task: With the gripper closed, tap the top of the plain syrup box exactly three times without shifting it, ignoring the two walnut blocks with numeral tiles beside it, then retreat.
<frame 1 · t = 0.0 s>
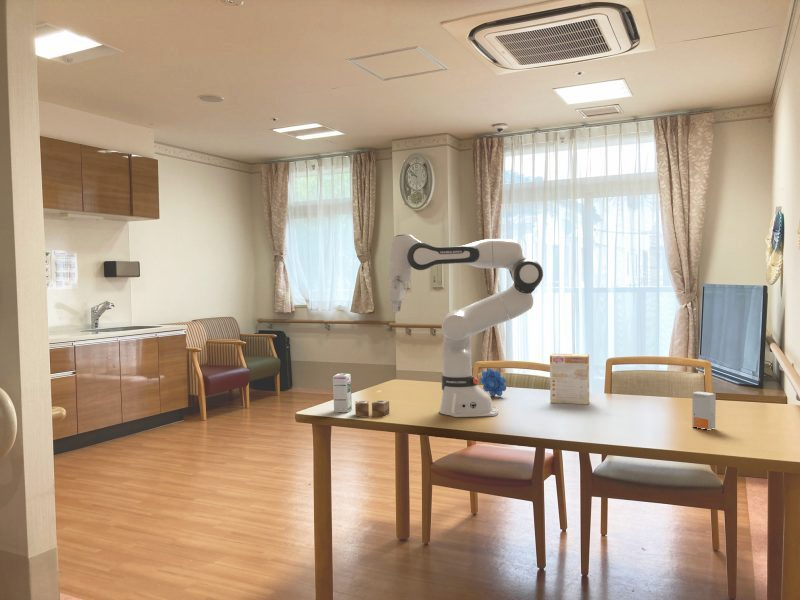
hand: (396, 311, 251), 39 cm above the table, tool pointing down, fingers open, 8 cm apart
syrup box: (342, 411, 255), on the table
walnut block two: (380, 415, 247), on the table
coffeecake box: (569, 402, 265), on the table
blue gear wheel: (492, 397, 280), on the table
walnut block one: (362, 415, 247), on the table
skincare box: (703, 429, 218), on the table
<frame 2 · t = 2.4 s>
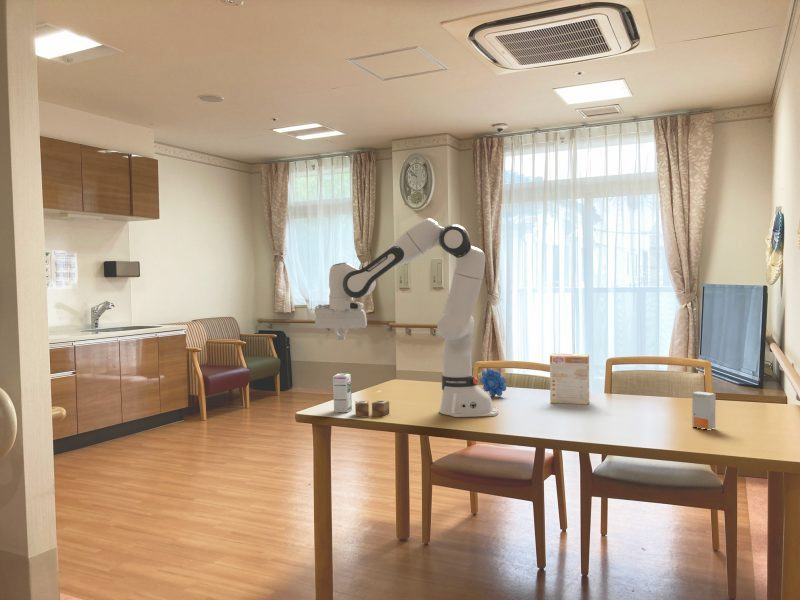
hand: (341, 339, 254), 28 cm above the table, tool pointing down, fingers closed
nothing on the table moved.
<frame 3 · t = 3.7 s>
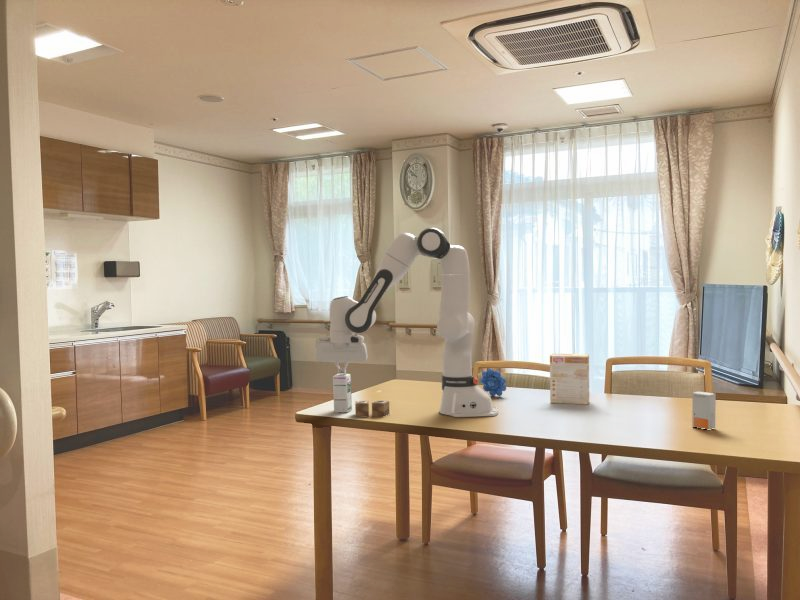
hand: (341, 373, 254), 15 cm above the table, tool pointing down, fingers closed
nothing on the table moved.
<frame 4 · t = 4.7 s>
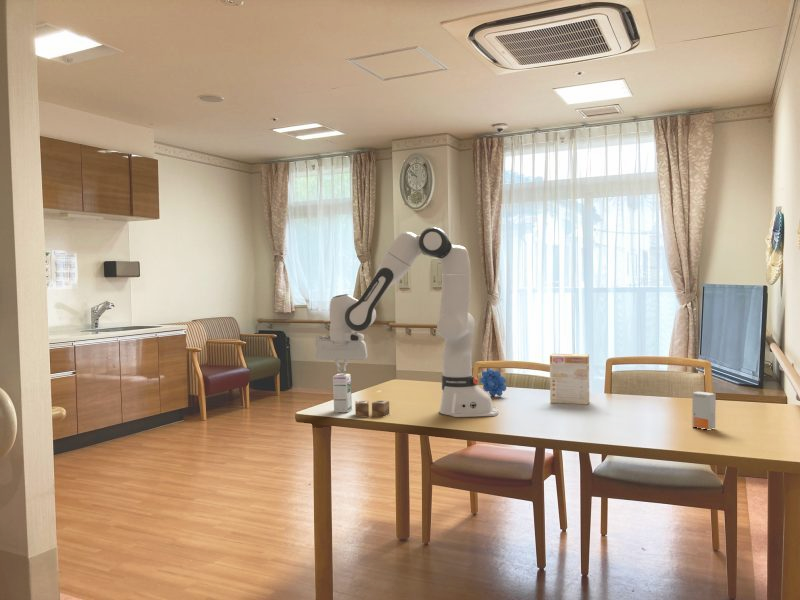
hand: (341, 371, 254), 16 cm above the table, tool pointing down, fingers closed
nothing on the table moved.
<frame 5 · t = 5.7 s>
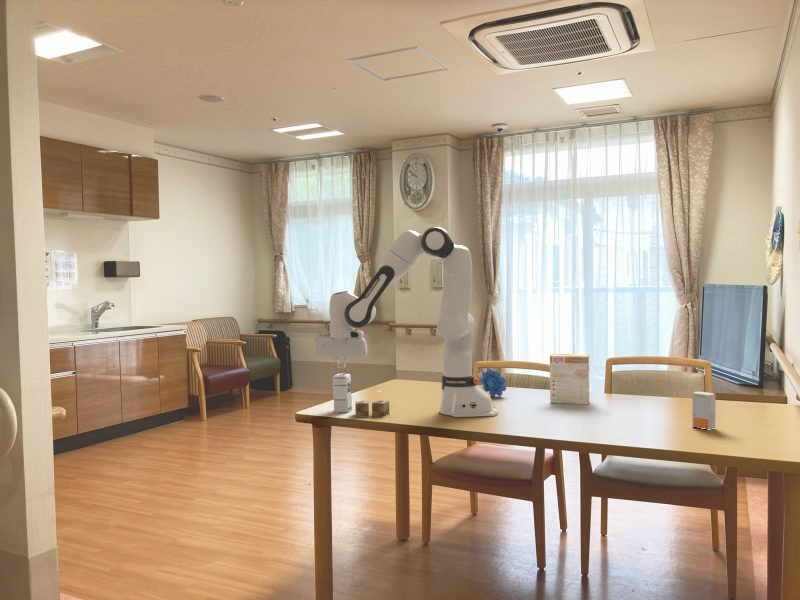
hand: (341, 367, 254), 17 cm above the table, tool pointing down, fingers closed
nothing on the table moved.
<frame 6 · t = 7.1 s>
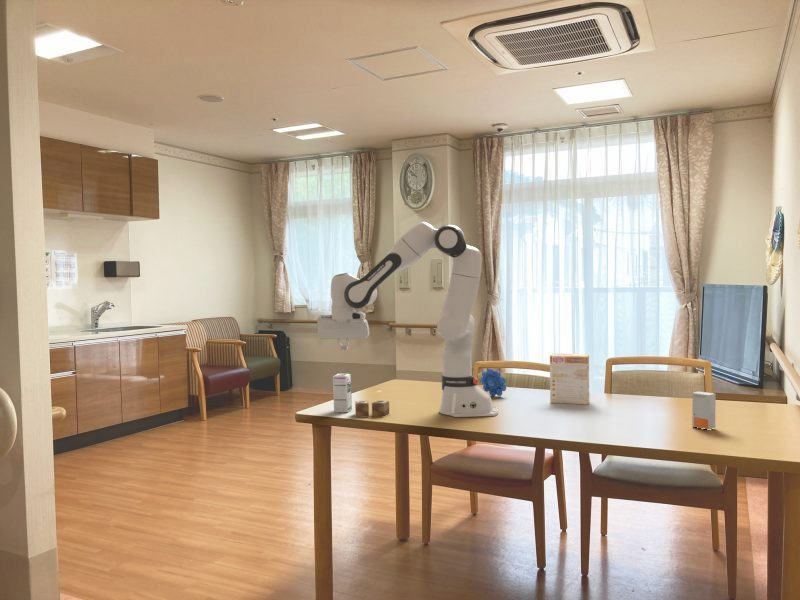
hand: (344, 349, 255), 24 cm above the table, tool pointing down, fingers closed
nothing on the table moved.
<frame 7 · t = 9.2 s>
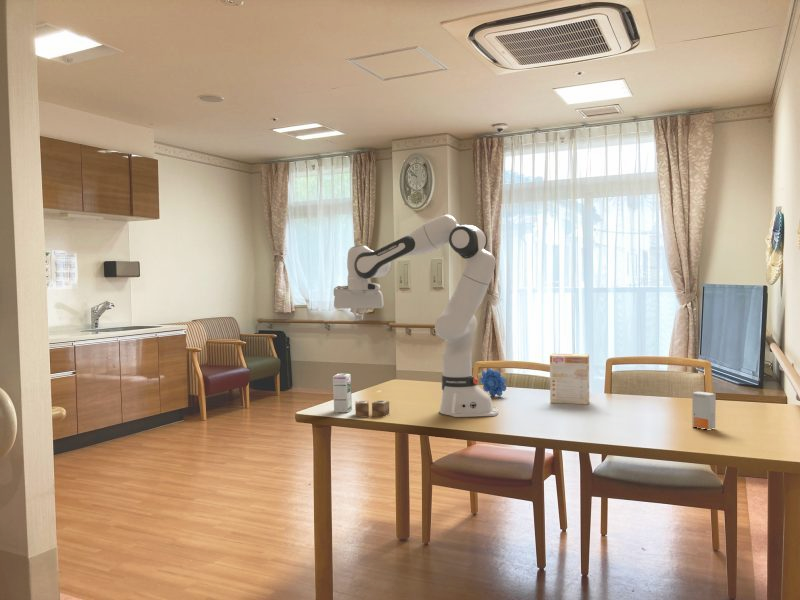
hand: (359, 319, 265), 35 cm above the table, tool pointing down, fingers closed
nothing on the table moved.
at the end: syrup box moved 0.2 cm from its start; syrup box tilted 0°; syrup box touching table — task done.
